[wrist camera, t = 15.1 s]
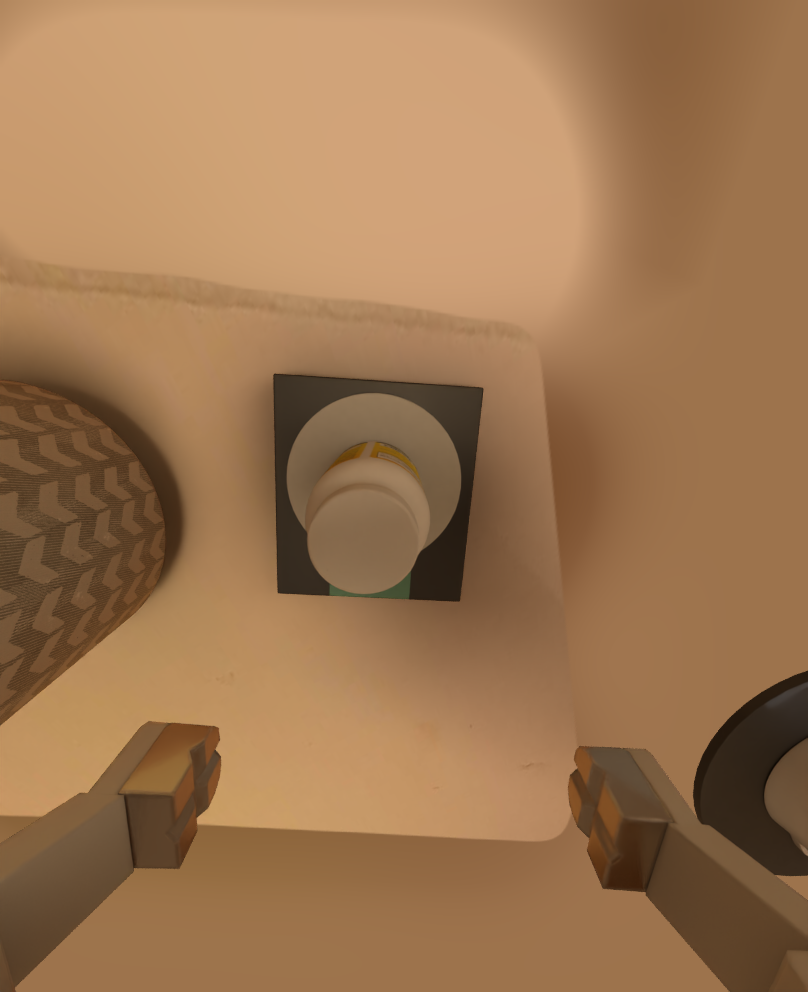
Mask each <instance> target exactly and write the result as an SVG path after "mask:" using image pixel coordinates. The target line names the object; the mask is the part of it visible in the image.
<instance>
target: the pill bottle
mask: <svg viewBox="0 0 808 992" xmlns="http://www.w3.org/2000/svg"><path fill="white" fill-rule="evenodd" d="M305 525H306V531H307V534H308V535H307V546H308V552H309V556H310V559H311V562H312V563H313V565H314V567H315V569H316V570H317V571H318V573H319V574H320V575H321V576H322V577H323V578H324V579H325V580H326V581H327V582H329V583H330V584H331V585H333V586H335V587H337V588H339V589H341V590H344V591H347V592H350V593H356V594H372V593H378V592H381V591H385V590H387V589H389V588H391V587H393V586H395V585H396V584H398V583H399V582H400V581H402V580H403V579H404V578H405V577H406V576H407V575H408V573H409V572H410V571H411V569H412V567H413V566H414V564H415V561H416V559H417V556H418V554H419V553H420V551H421V550H422V548H423V546H424V544H425V542H426V539H427V535H428V532H429V527H430V510H429V505H428V501H427V498H426V495H425V492H424V489H423V487H422V484H421V481H420V478H419V475H418V472H417V469H416V467H415V465H414V464H413V462H412V461H411V459H410V458H409V457H408V456H407V455H406V454H405V453H404V452H403V451H402V450H400V449H399V448H397V447H395V446H394V445H391V444H388V443H385V442H380V441H367V442H362V443H359V444H356V445H354V446H352V447H350V448H349V449H347V450H346V451H344V452H343V453H342V454H341V455H340V456H339V457H338V458H337V459H336V461H335V462H334V463H333V464H332V465H331V466H330V468H329V469H328V470H327V471H326V472H325V473H324V475H323V476H322V477H321V478H320V479H319V481H318V482H317V483H316V485H315V486H314V488H313V490H312V492H311V494H310V497H309V499H308V503H307V507H306V514H305Z"/></svg>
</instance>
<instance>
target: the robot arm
mask: <svg viewBox="0 0 808 992" xmlns="http://www.w3.org/2000/svg"><path fill="white" fill-rule="evenodd" d="M219 741H220V736H219V728H218V727H215V726H205V725H193V724H181V723H164V722H152V721H148V722H147V723H145V724H144V725H142V726H141V727H140V728H139V729H138V731H137V732H136V733H135V734H134V736H133V737H132V738H131V739H130V741H129V742H128V743H127V744H126V746H125V747H124V748H123V749H122V751H121V752H120V753H119V754H118V756H117V757H116V758H115V759H114V761H113V762H112V763H111V764H110V766H109V767H108V768H107V769H106V771H105V772H104V773H103V774H102V776H101V777H100V778H99V779H98V781H97V782H96V783H95V784H94V786H93V787H92V788H91V789H90V791H89V792H88V793H79V794H77V795H76V796H74V797H73V798H71V799H69V800H68V801H66V802H65V803H63V804H62V805H60V806H58V807H57V808H55V809H54V810H52V811H51V812H49V813H47V814H46V815H44V816H43V817H41V818H39V819H38V820H36V821H35V822H33V823H32V824H30V825H28V826H27V827H26V828H24V829H22V830H21V831H19V832H17V833H16V834H14V835H13V836H11V837H9V838H8V839H6V840H5V841H3V842H2V843H0V992H16V991H15V987H16V986H17V985H18V984H19V983H20V982H21V981H22V980H23V979H24V978H25V977H26V976H27V975H28V974H29V973H30V972H31V971H32V970H33V969H34V968H35V967H36V966H37V965H38V964H39V963H40V962H41V961H43V960H44V959H45V958H46V956H48V954H50V953H51V952H52V951H53V950H54V949H55V948H56V947H57V946H58V945H59V944H60V943H61V942H62V941H63V940H64V939H65V938H66V937H67V936H68V935H69V934H70V933H71V932H72V931H73V930H74V929H75V928H76V927H77V926H78V925H79V924H80V923H81V922H82V921H83V920H84V919H86V918H87V917H88V916H89V915H90V914H91V913H92V912H93V911H94V910H95V909H96V908H97V907H98V906H99V905H100V904H101V903H102V902H103V901H104V900H105V899H106V898H107V897H108V896H109V895H110V894H111V893H112V892H113V891H114V890H115V889H116V888H117V887H118V886H119V885H120V884H121V883H122V882H123V881H124V880H126V879H127V877H129V876H130V874H132V873H133V871H134V868H168V869H169V868H170V869H171V868H173V869H179V868H180V866H181V864H182V862H183V860H184V858H185V856H186V854H187V852H188V850H189V847H190V845H191V843H192V841H193V839H194V837H195V835H196V833H197V817H198V816H199V815H200V814H202V813H203V812H204V811H205V810H206V809H208V807H209V805H210V803H211V801H212V799H213V796H214V794H215V791H216V788H217V785H218V781H219V778H220V771H221V756H220V755H219V754H218V752H217V751H216V750H215V749H216V747H217V745H218V743H219ZM574 761H575V763H576V766H577V769H576V770H575V771H574V772H573V773H572V774H571V775H570V778H569V784H568V795H569V803H570V807H571V811H572V814H573V817H574V820H575V822H576V825H577V827H578V828H579V829H580V830H581V831H582V832H583V833H584V834H585V835H586V836H587V837H588V838H589V843H588V847H587V852H588V854H589V856H590V859H591V861H592V864H593V866H594V868H595V871H596V873H597V875H598V878H599V880H600V883H601V885H602V888H603V889H613V890H627V891H638V892H646V896H647V897H648V898H649V899H650V901H651V902H652V903H653V904H654V905H655V906H656V908H657V909H658V910H659V911H660V912H661V913H662V914H663V916H664V917H665V918H666V919H667V920H668V921H669V922H670V924H671V925H672V926H673V927H674V928H675V929H676V930H677V932H678V933H679V934H680V935H681V936H682V937H683V939H684V940H685V941H686V942H687V943H688V944H689V945H690V947H691V948H692V949H693V950H694V951H695V952H696V953H697V955H698V956H699V957H700V958H701V959H702V960H703V962H704V963H705V964H706V965H707V966H708V967H709V968H710V970H711V971H712V972H713V973H714V974H715V975H716V976H717V977H718V979H719V980H720V981H721V982H722V983H723V985H724V986H725V987H726V988H727V989H728V990H729V991H730V992H808V900H807V899H805V898H804V897H803V896H802V895H800V894H799V893H797V892H796V891H795V890H794V889H792V888H791V887H790V886H788V885H787V884H786V883H784V882H783V881H782V880H780V879H779V878H778V877H777V876H775V875H774V874H773V873H771V872H770V871H769V870H767V869H766V868H765V867H763V866H762V865H761V864H760V863H758V862H757V861H756V860H754V859H753V858H752V857H750V856H749V855H748V854H746V853H745V852H744V851H742V850H741V849H740V848H739V847H737V846H736V845H735V844H733V843H732V842H731V841H729V840H728V839H727V838H725V837H724V836H723V835H721V834H720V833H719V832H718V831H716V830H715V829H714V828H712V827H711V826H710V825H702V824H701V823H700V821H699V820H698V818H697V817H696V816H695V814H694V813H693V811H692V810H691V809H690V807H689V806H688V804H687V803H686V802H685V800H684V799H683V797H682V796H681V795H680V793H679V792H678V790H677V789H676V787H675V786H674V785H673V783H672V782H671V780H670V779H669V777H668V776H667V775H666V773H665V772H664V770H663V769H662V768H661V766H660V765H659V764H658V762H657V761H656V759H655V758H654V756H653V755H652V754H651V753H650V752H648V751H647V750H646V749H630V748H623V749H622V748H611V747H589V746H588V747H587V746H579V747H578V748H577V750H576V752H575V756H574ZM764 802H765V806H766V809H767V811H768V813H769V815H770V816H771V818H772V819H773V820H774V821H775V822H776V823H778V824H779V825H780V826H781V827H783V828H784V829H785V830H786V831H787V832H789V833H790V835H791V838H792V840H793V842H794V844H795V845H796V846H797V847H798V848H799V849H800V850H801V851H802V852H803V853H804V854H805V855H807V856H808V738H806V739H805V740H803V741H801V742H800V743H798V744H797V745H796V746H794V747H793V748H792V749H790V750H789V751H788V752H787V753H786V754H785V755H784V756H783V757H782V758H781V759H780V760H779V762H778V763H777V764H776V765H775V767H774V768H773V770H772V772H771V773H770V775H769V777H768V780H767V783H766V786H765V791H764Z"/></svg>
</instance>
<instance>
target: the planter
mask: <svg viewBox="0 0 808 992" xmlns="http://www.w3.org/2000/svg"><path fill="white" fill-rule="evenodd" d="M165 547H166V532H165V523H164V517H163V512H162V508H161V505H160V501H159V499H158V496H157V493H156V490H155V488H154V486H153V484H152V482H151V480H150V478H149V476H148V474H147V472H146V471H145V469H144V467H143V466H142V464H141V463H140V461H139V460H138V458H137V457H136V456H135V454H134V453H133V452H132V450H131V449H130V448H129V447H128V446H127V445H126V443H125V442H124V441H123V440H122V439H121V438H120V437H119V436H118V435H117V434H116V433H115V432H114V431H113V430H112V429H111V428H110V427H108V426H107V425H106V424H105V423H104V422H102V421H101V420H100V419H99V418H97V417H96V416H94V415H93V414H92V413H90V412H89V411H88V410H86V409H84V408H83V407H81V406H79V405H78V404H76V403H74V402H72V401H70V400H68V399H66V398H64V397H62V396H60V395H58V394H55V393H53V392H50V391H48V390H45V389H42V388H39V387H35V386H32V385H29V384H25V383H19V382H14V381H8V380H0V725H2V724H3V723H4V722H5V721H6V720H8V719H9V718H10V717H11V716H12V715H14V714H15V713H16V712H17V711H18V710H19V709H21V708H22V707H23V706H24V705H25V704H27V703H28V702H29V701H30V700H31V699H33V698H34V697H35V696H36V695H37V694H39V693H40V692H41V691H42V690H43V689H45V688H46V687H47V686H48V685H49V684H51V683H52V682H53V681H54V680H55V679H57V678H58V677H59V676H60V675H61V674H63V673H64V672H65V671H66V670H67V669H69V668H70V667H71V666H72V665H73V664H75V663H76V662H77V661H78V660H79V659H81V658H82V657H83V656H84V655H85V654H86V653H88V652H89V651H90V650H91V649H92V648H94V647H95V646H96V645H97V644H98V643H100V642H101V641H102V640H103V639H104V638H106V637H107V636H108V635H109V634H110V633H112V632H113V631H114V630H115V629H116V628H118V627H119V626H120V625H121V624H122V623H124V622H125V621H126V620H127V619H128V618H130V617H131V616H132V615H133V614H134V613H135V612H136V611H137V610H138V609H139V608H140V607H141V606H142V605H143V604H144V602H145V601H146V600H147V598H148V597H149V596H150V594H151V592H152V591H153V589H154V587H155V585H156V583H157V581H158V578H159V576H160V573H161V570H162V566H163V562H164V556H165Z"/></svg>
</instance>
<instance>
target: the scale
mask: <svg viewBox="0 0 808 992" xmlns="http://www.w3.org/2000/svg"><path fill="white" fill-rule="evenodd" d="M273 379H274V431H275V483H276V535H277V587H278V593H283V594H305V595H326V596H348V597H370V598H392V599H414V600H436V601H458V602H459V601H460V596H461V587H462V578H463V569H464V560H465V551H466V542H467V533H468V524H469V515H470V506H471V497H472V488H473V479H474V470H475V461H476V452H477V443H478V434H479V425H480V416H481V407H482V398H483V388H479V387H465V386H450V385H435V384H420V383H405V382H390V381H376V380H361V379H346V378H331V377H316V376H301V375H286V374H274V375H273ZM367 441H380V442H385V443H388V444H391V445H394V446H395V447H397V448H399V449H400V450H402V451H403V452H404V453H405V454H406V455H407V456H408V457H409V458H410V459H411V461H412V462H413V464H414V465H415V467H416V469H417V472H418V475H419V478H420V481H421V484H422V487H423V489H424V492H425V495H426V498H427V501H428V505H429V510H430V527H429V532H428V535H427V539H426V542H425V544H424V546H423V548H422V550H421V551H420V553H419V554H418V556H417V559H416V561H415V564H414V566H413V567H412V569H411V571H410V572H409V573H408V575H407V576H406V577H405V578H404V579H403V580H402V581H400V582H399V583H398V584H396V585H395V586H393V587H391V588H389V589H387V590H385V591H381V592H378V593H372V594H356V593H350V592H347V591H344V590H341V589H339V588H337V587H335V586H333V585H331V584H330V583H329V582H327V581H326V580H325V579H324V578H323V577H322V576H321V575H320V574H319V573H318V571H317V570H316V569H315V567H314V565H313V563H312V562H311V559H310V556H309V552H308V546H307V535H308V534H307V531H306V525H305V514H306V507H307V503H308V499H309V497H310V494H311V492H312V490H313V488H314V486H315V485H316V483H317V482H318V481H319V479H320V478H321V477H322V476H323V475H324V473H325V472H326V471H327V470H328V469H329V468H330V466H331V465H332V464H333V463H334V462H335V461H336V459H337V458H338V457H339V456H340V455H341V454H342V453H343V452H344V451H346V450H347V449H349V448H350V447H352V446H354V445H356V444H359V443H362V442H367Z"/></svg>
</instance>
